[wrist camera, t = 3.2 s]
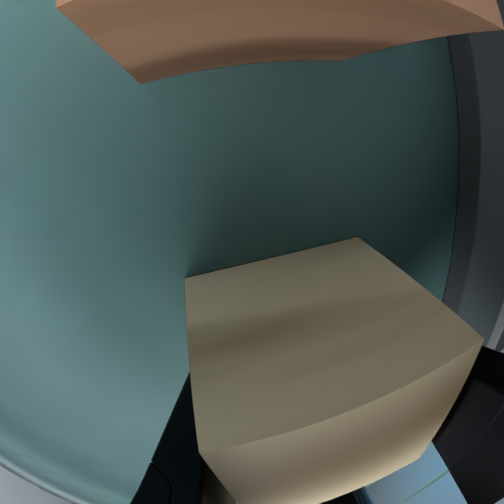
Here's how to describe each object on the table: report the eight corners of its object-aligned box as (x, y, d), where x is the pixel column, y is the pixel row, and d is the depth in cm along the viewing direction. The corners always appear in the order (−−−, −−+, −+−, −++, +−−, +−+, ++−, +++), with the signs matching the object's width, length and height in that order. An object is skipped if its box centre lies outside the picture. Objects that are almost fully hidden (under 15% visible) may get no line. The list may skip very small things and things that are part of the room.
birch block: (352, 357, 11) (419, 458, 6) (223, 395, 10) (253, 521, 5) (357, 236, 8) (484, 338, 4) (184, 278, 8) (199, 452, 3)
